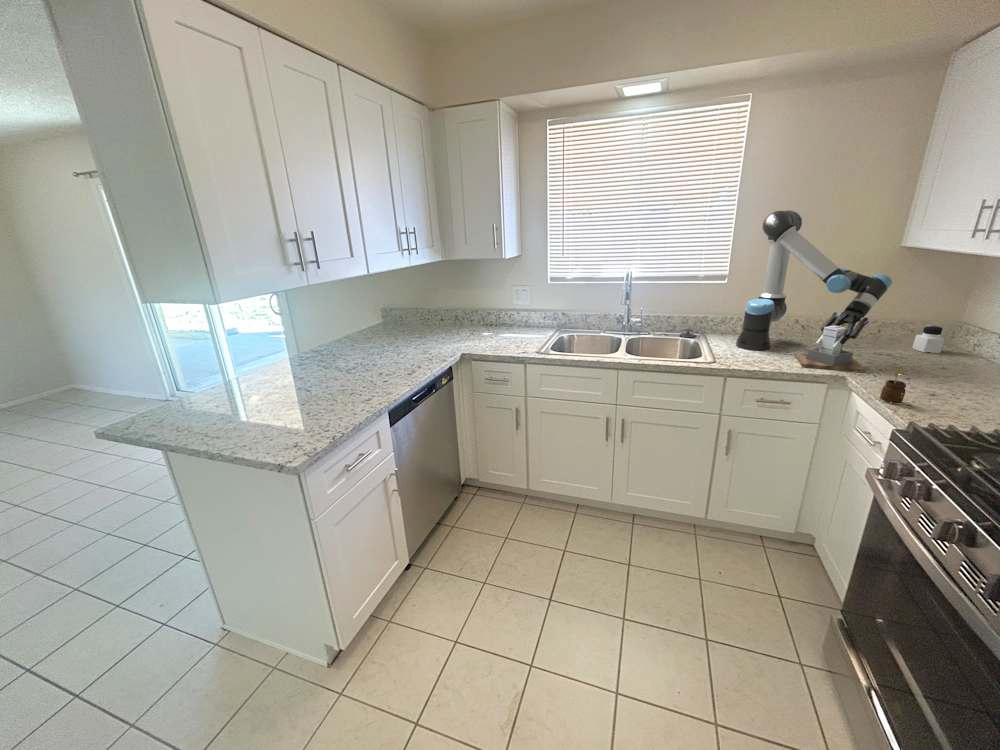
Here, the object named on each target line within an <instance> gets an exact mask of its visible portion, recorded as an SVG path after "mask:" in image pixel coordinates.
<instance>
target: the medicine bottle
mask: <svg viewBox="0 0 1000 750" xmlns="http://www.w3.org/2000/svg"><path fill="white" fill-rule="evenodd" d="M943 330H944V329H943V327H941V326H937V325H926V326H924V328H923V330H922V334H915V335H916V336H915V338H914V341H913V344H912V347H911V348H914V349H916V350H919V351H922V352H932V353H931V354H940V353H941V352H942V349H943V346H944V343H945V341H946V339H945V338H944V337H941V336H942V332H943ZM914 349H913V350H914ZM916 350H915V351H916ZM919 351H918V352H919ZM922 352H921V353H922Z"/></svg>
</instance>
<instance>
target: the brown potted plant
mask: <svg viewBox="0 0 1000 750" xmlns="http://www.w3.org/2000/svg"><path fill="white" fill-rule="evenodd" d="M902 367H903V366H899V365H898V366H896V365H895V369H894V371H893V372H894V373H893V375H894V377H893V379H889V380H886V381H885V384H884V386H883V387H882V389H881V393H880V396H879V399H880V400H881V399H882V400H884V401H887V402H892V403H900V404H902V403H903V401H904V398H905V395H906V391H907V390H906V387H907V384H906V383H905V382H904V381H902V380H904V377H905V376H904V375H905V374H903V373H901V371H902V369H903V368H902ZM901 375H902V376H901ZM898 377H899V378H898ZM882 400H881V401H882ZM884 401H883V402H884ZM887 402H886V403H887Z"/></svg>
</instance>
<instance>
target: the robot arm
mask: <svg viewBox="0 0 1000 750" xmlns="http://www.w3.org/2000/svg"><path fill="white" fill-rule="evenodd" d="M802 226H803V217H802V216H801V215H800V213H798V212H797V211H794V210H788V209H787V210H776V211H775V210H774V211H773V212H770V213H769V214H768V215H767V216H766V217H765V218H764V220H763V222H762V231H763V232H764V234H765V235H766V236H767V241H768V242H769V244H770V246H769V253H768V260H767V265H766V273H765V277H764V283H763V292H761V293H760V294H759V295H758V298H757V299H756V298H754V299H750V300H749V301H747V303H746V305H745V312H744V318H743V324H742V329H741V332H740V334H739V335H738V337H737V339H736V341H735V346H736V347H738V348H742V349H745V350H750V351H751V350H752V351H766V350H769V349H770V348H771V338H770V328H771V323H773V322H776V321H779V320H780V319H781V318H782V317H784V316H785V315H786V313H787V310H788V305H787V303H786V295H785V294H784V289H785V282H786V277H787V270H788V266H789V259H790V256H791V255H793V256H794V257H795V258H796V259H797V260H799V262H800V263H802V264H803V265H804V266H805V267H806V268H808V270H810V272H812V273H813V274H814V275H815V276H816V277H817V278H818V279H819V280H820V281H822V283H824V284H825V286H826V288H827V290H828V291H829V292H831V293H833V294H838V293H839V294H840V293H844V292H846V291H847V290H848V291H852V292H855V293H857V294H856V295H855V296H854V298H853V299H852V300H851V301H850V303H848V305H847V306H846V307H845V308H844V311H842V312H840V313H838V312H836V311H834V312H833V313H832V316H831V317H830V318H828V320H827V321H826V322H825V323H824V324H822V326H820V331H821V334H820V335H818V339H817V341H816V342H815V344H816V346H817V347H820V345H821V340H822V336H823V332H824V327H829V326H842V325H845V324H848V325H847V327H846V328H847V330H846V333H845V336H844V335H842V336H841V337H840V338H839V339H838V341H837V342H836V343H835V344H834V345H833V346H832V347H833V349H834V350H835V351H836V350H837V349H838V348H839V347H840V346H841V344H843V345H844V344H846V343H847V341H848V340H849V339H852V340H855V339H857V337H858V336H859V335H860V333H861V332H862V330H863V329H864V327H865V326H866V325H868V324H869V322H870V320H869V319H868V317H865V316H866V315H868V313H869V312H870V310H871V309H872V308H873V307H874V306H875V305H876V303H877V302H878V301H880V299H881V298H882V297H883V296H884V294H885V293H887V291H888V289H889V288H890V287H891V285H892V284H893V280H892V278H891V277H890V276H888V275H887V274H885V273H876V274H874V275H873V276H868V275H864V274H862V273H858V272H856V271H852V270H851V269H847V268H840V267H839V266H838V265H836V264H835V262H833V261H832V260H831V259H829V257H827V256H826V255H825V254H824V253H823V252H822V251H820V250H819V249H818V248H817V247H816V246H814V244H812V243H811V242H810V241H809V240H808V239H806V238H805V237H804V236H803V235H802V234H800V232H799V230H800V229H802ZM790 254H791V255H790ZM856 323H858V324H857V325H856Z"/></svg>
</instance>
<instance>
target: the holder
mask: <svg viewBox="0 0 1000 750" xmlns="http://www.w3.org/2000/svg"><path fill="white" fill-rule="evenodd" d="M819 350H820V347H819V346H817V347H813V348H812V347H811V348H808V349H807V352H806V354H807V355H806V359H809V360H813V361H816V362H820V363H823V364H827V365H831V366H835V365H840V364H845V363H850V362H851V359H852V357H853V355H854V352H853V351H848V350H844V349H842V352H841V354H837V355H832V354H828V353H824V352H820V351H819Z"/></svg>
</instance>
